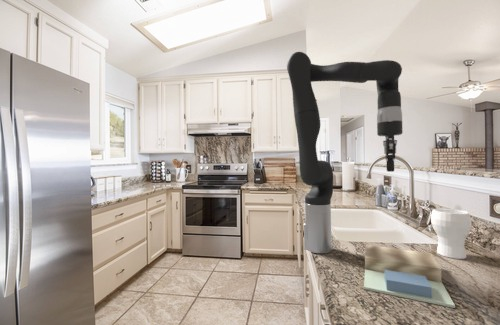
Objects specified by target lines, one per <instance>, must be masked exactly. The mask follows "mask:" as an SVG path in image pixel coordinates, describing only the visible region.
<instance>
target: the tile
mask: <svg viewBox="0 0 500 325" xmlns="http://www.w3.org/2000/svg"><path fill="white" fill-rule="evenodd" d="M385 283H386V288H387V290H390V291H395V292H401V293H406V294H411V295H417V296H422V297H427V298H432V289H431V286H430V284H429V282H428V280H427V278H426V277H425V276H421V275H415V274H408V273H402V272H395V271H389V270H385Z"/></svg>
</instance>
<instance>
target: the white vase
mask: <svg viewBox="0 0 500 325" xmlns="http://www.w3.org/2000/svg"><path fill="white" fill-rule="evenodd" d="M430 219H431V220H430V222H431V226H432V228H433V230H434V232H435V233H436V236H437V237H436V238H437V240H438V243H437V249H436V253H437V254H438V255H440V256H443V257H446V258H450V259H455V260H456V259H459V260H462V259H464V260H465V259H467V253H466V249H465V248H466V247H465V242H466V239H467V237H468V236H469V234H470V232H471V229H472V218H471V214H470V212H469V211H466V210H461V209H454V208H433V209H432V212H431V215H430Z"/></svg>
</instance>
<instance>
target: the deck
mask: <svg viewBox="0 0 500 325" xmlns="http://www.w3.org/2000/svg"><path fill="white" fill-rule="evenodd" d="M436 260H437V259H436V258H435V257H434V255H433V254H432V253H431V252H427V251H426V252H425V251H417V250H410V249H401V248H393V247H385V246H378V245H369V244H365V251H364V270H365V269H366V270H371V271H377V272H383V273H385V270H389V271H395V272H402V273H408V274H415V275H421V276H425V277H426V278H427V280H429V281H435V282H441V283H442V268H441V267H440V265H439V263H438V261H436Z"/></svg>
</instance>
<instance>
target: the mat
mask: <svg viewBox="0 0 500 325" xmlns="http://www.w3.org/2000/svg"><path fill="white" fill-rule="evenodd" d="M363 277H364V279H363V290H366V291H371V292H377V293H380V294H386V295H390V296H393V297H400V298H405V299H408V300H412V301H413V300H414V301H418V302H419V301H420V302H423V303H429V304H434V305H438V306H444V307H448V308H453V309H456V305H455V303H454V301H453V300H452V298H451V296H450V294H449V292H448V290H447V289H446V287H445V285H444V284H443V282H442V281H441V282H435V281H429V280H428V282H429V284H430V286H431V289H432V298H427V297H422V296H417V295H411V294H406V293H401V292H395V291H390V290H387V288H386V283H385V273H383V272H377V271H371V270H366V269H365V268H364V276H363Z"/></svg>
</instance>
